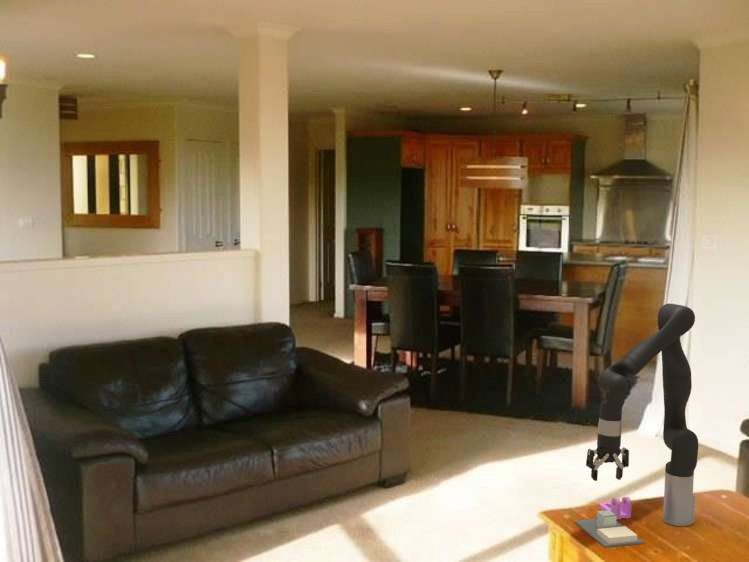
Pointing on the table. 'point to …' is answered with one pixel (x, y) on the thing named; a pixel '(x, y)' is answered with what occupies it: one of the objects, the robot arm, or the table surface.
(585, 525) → the pad
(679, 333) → the robot arm
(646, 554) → the table surface
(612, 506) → the bracket
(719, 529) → the table surface
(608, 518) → the stub
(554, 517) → the table surface
